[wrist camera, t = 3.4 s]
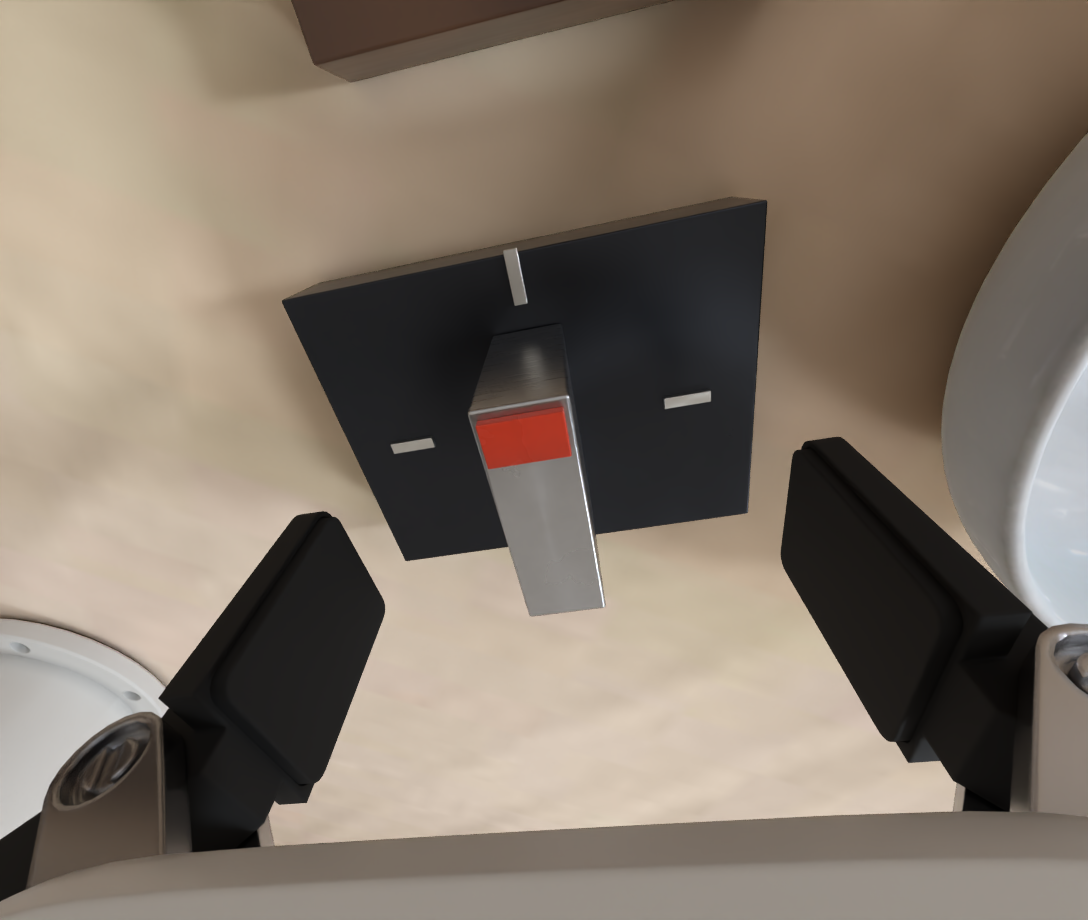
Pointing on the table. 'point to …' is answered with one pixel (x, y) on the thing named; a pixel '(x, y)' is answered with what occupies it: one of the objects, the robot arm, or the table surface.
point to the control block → (431, 28)
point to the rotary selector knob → (538, 469)
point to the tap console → (593, 357)
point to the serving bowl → (1028, 405)
